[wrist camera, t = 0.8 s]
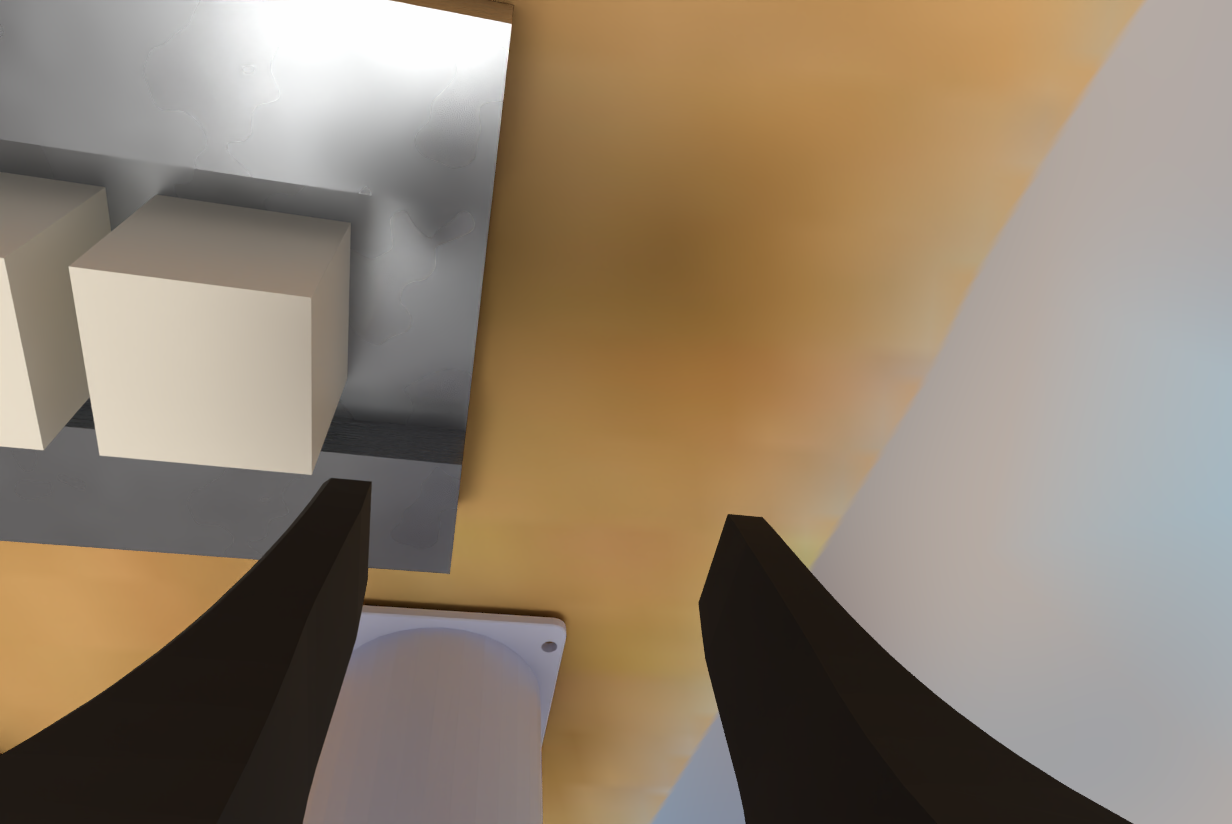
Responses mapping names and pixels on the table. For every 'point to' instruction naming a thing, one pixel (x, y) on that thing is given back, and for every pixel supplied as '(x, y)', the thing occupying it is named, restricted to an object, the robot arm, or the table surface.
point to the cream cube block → (215, 334)
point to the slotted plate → (287, 183)
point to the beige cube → (42, 303)
